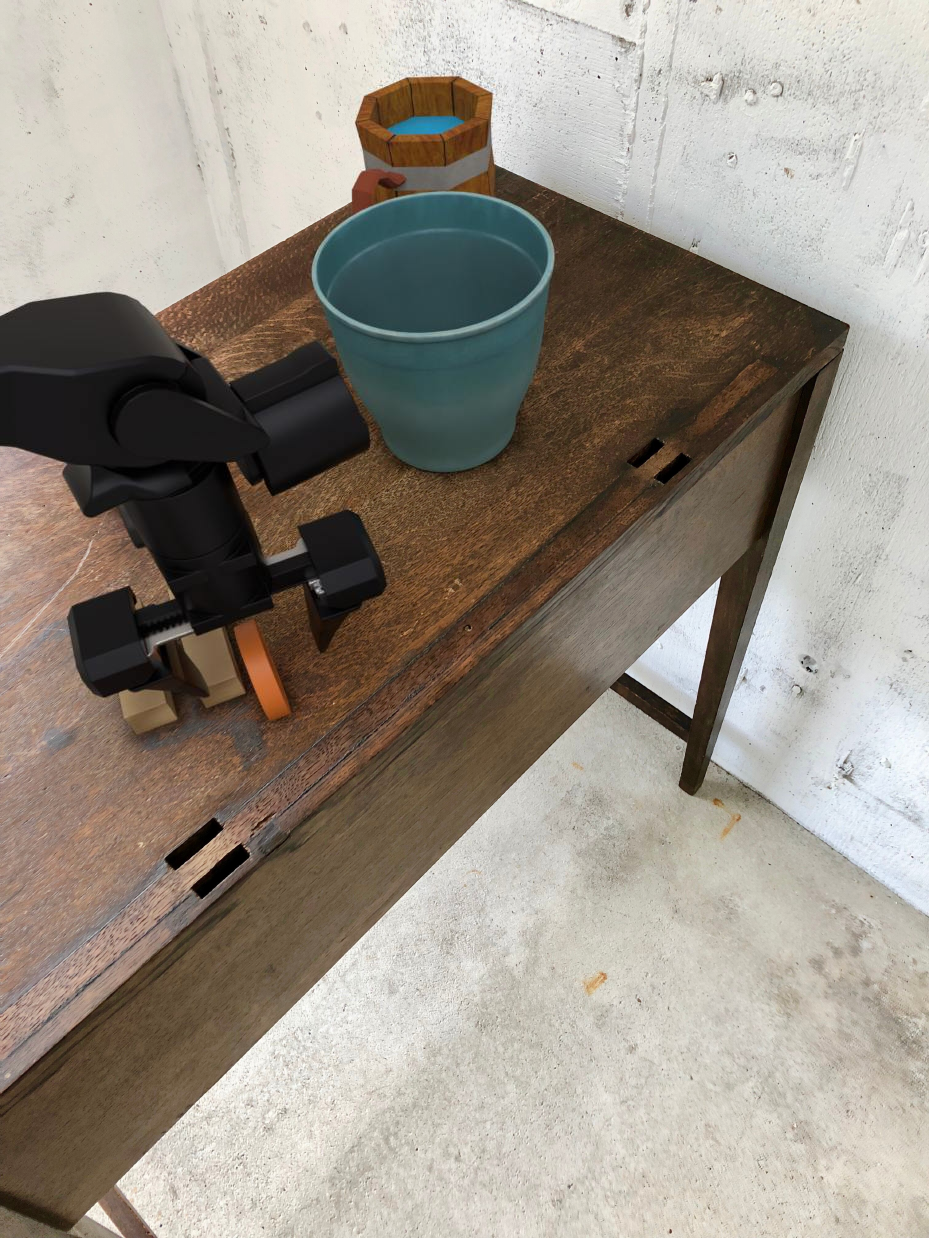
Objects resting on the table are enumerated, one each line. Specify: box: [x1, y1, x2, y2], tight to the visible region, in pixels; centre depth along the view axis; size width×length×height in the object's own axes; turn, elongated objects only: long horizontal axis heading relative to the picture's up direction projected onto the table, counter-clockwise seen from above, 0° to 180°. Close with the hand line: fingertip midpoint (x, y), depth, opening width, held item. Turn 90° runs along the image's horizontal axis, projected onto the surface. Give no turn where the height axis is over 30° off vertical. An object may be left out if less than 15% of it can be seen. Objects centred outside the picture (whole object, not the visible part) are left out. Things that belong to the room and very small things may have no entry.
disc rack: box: [118, 587, 247, 736], centre depth 65 cm, size 8×10×2 cm
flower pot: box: [311, 191, 556, 473], centre depth 72 cm, size 18×18×17 cm
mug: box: [351, 75, 496, 216], centre depth 87 cm, size 20×14×15 cm
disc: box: [233, 619, 292, 722], centre depth 61 cm, size 2×7×7 cm, turn 23°
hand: (264, 669), depth 61 cm, fingers open, 8 cm apart
